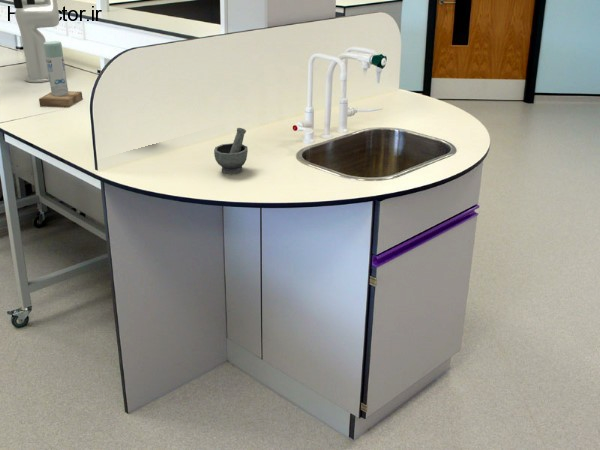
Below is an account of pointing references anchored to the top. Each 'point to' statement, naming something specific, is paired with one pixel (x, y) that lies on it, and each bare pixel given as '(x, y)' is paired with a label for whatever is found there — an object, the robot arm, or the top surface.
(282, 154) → the top surface
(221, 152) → the mortar and pestle
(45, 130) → the top surface
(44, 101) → the square brown tray
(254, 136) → the top surface
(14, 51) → the top surface
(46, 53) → the pale blue bottle
